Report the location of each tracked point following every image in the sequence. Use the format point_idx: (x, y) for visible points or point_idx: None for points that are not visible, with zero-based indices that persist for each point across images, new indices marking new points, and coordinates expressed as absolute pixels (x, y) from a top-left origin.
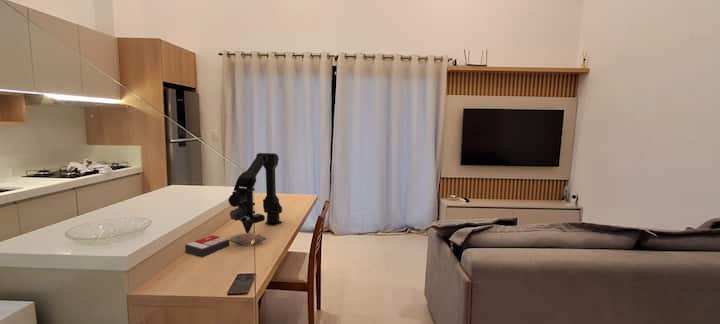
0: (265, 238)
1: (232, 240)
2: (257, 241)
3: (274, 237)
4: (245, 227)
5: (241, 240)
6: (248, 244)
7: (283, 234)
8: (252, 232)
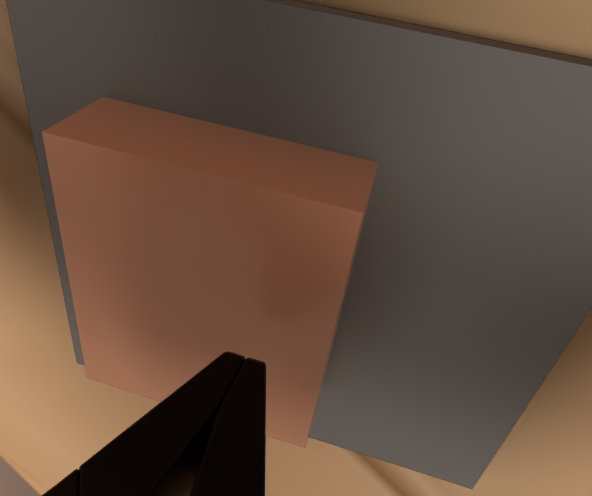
0: (76, 346)
1: (555, 76)
2: (52, 222)
3: (58, 401)
4: (195, 482)
5: (316, 151)
6: (21, 24)
7: (66, 473)
8: (271, 435)
